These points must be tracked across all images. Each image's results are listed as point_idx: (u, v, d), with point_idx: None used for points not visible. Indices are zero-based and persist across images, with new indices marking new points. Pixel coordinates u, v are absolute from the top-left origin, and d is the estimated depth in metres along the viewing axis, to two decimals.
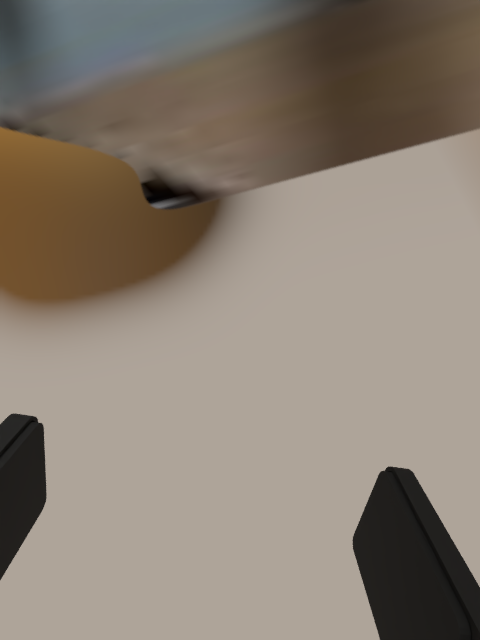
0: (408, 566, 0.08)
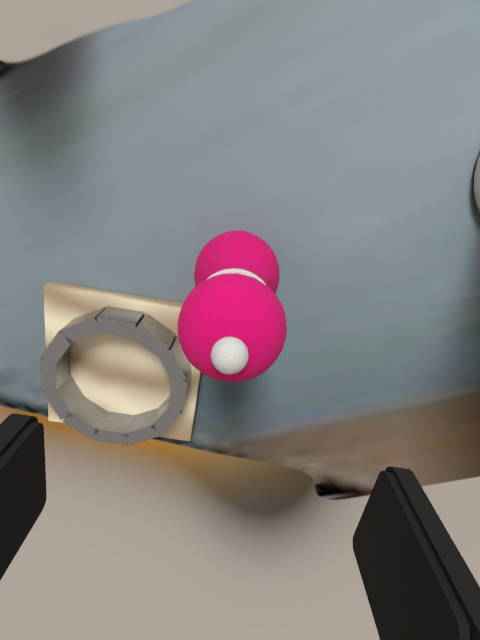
0: (408, 566, 0.08)
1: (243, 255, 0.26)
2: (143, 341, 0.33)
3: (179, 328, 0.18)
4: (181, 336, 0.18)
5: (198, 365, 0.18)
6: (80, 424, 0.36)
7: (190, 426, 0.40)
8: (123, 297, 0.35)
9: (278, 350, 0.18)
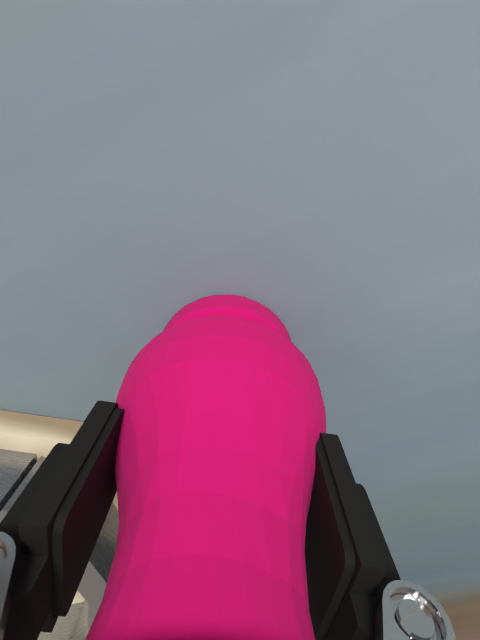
0: (321, 515, 0.09)
1: (235, 424, 0.08)
2: None
3: None
4: None
5: None
6: None
7: None
8: None
9: None
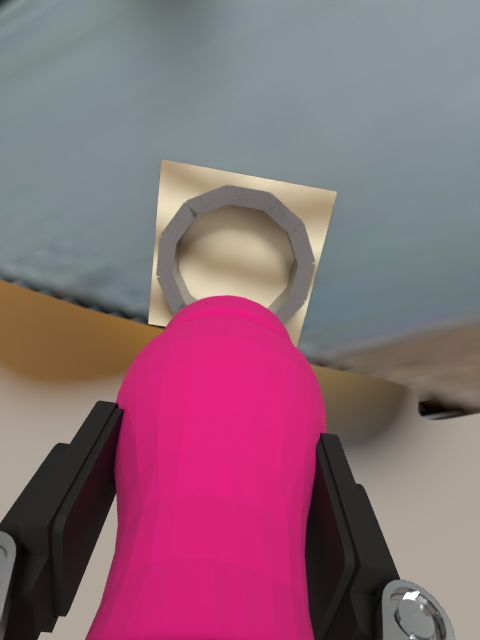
0: (321, 515, 0.09)
1: (235, 425, 0.08)
2: (274, 214, 0.30)
3: None
4: None
5: None
6: None
7: (299, 329, 0.37)
8: None
9: None
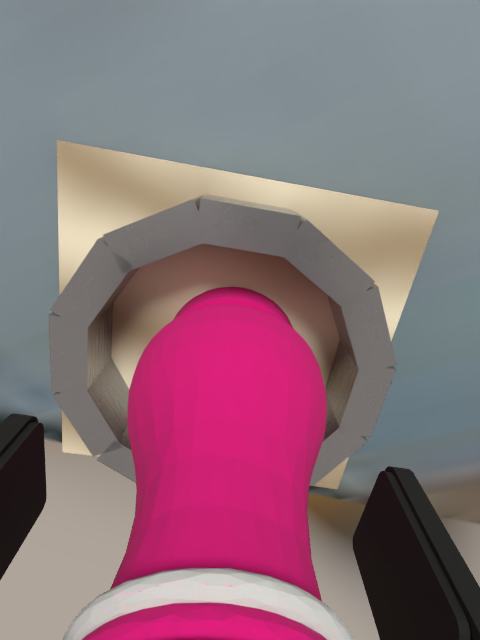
0: (408, 566, 0.08)
1: (244, 399, 0.09)
2: (310, 267, 0.13)
3: None
4: None
5: None
6: None
7: (343, 461, 0.20)
8: None
9: None
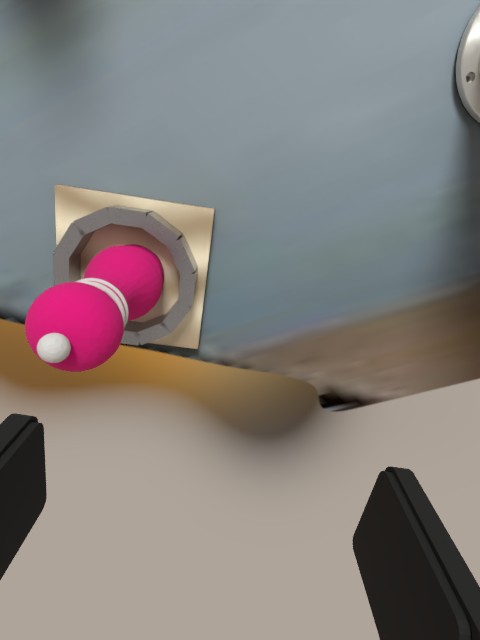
0: (408, 566, 0.08)
1: (115, 266, 0.30)
2: (153, 231, 0.34)
3: (25, 328, 0.23)
4: (26, 335, 0.22)
5: (41, 358, 0.22)
6: None
7: (198, 332, 0.41)
8: (132, 196, 0.36)
9: (108, 343, 0.23)
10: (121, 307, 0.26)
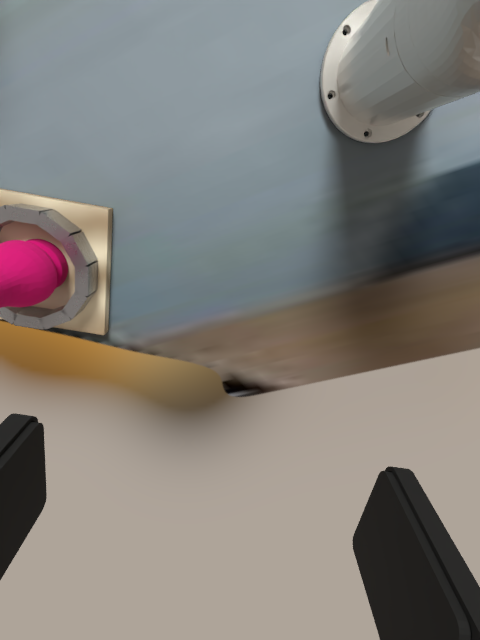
0: (408, 566, 0.08)
1: (1, 258, 0.35)
2: (47, 228, 0.38)
3: None
4: None
5: None
6: (0, 309, 0.42)
7: (103, 320, 0.46)
8: (34, 195, 0.40)
9: None
10: None
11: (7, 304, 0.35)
